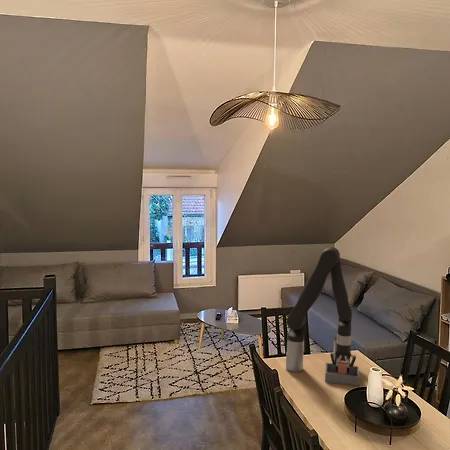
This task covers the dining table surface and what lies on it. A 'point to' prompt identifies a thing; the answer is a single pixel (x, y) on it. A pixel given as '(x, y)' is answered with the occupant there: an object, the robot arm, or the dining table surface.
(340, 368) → the juice box
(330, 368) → the tote
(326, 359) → the dining table surface
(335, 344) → the coffee box
